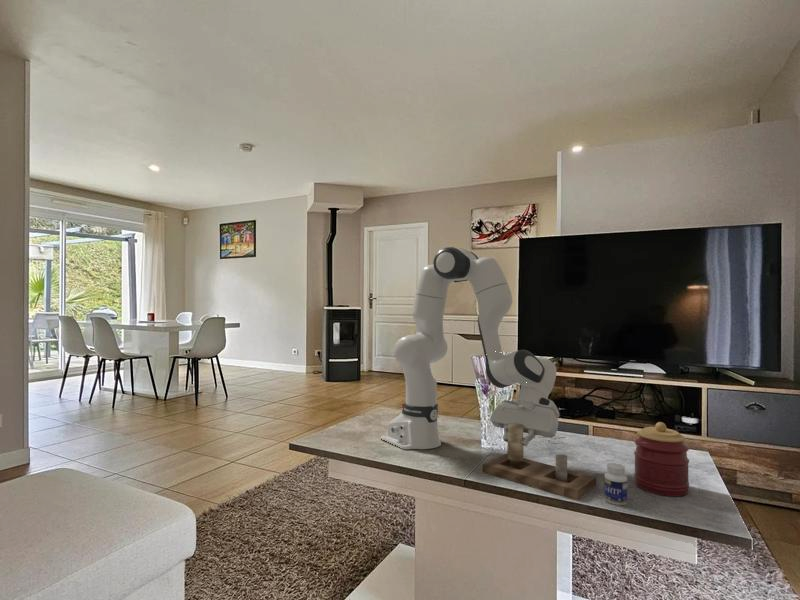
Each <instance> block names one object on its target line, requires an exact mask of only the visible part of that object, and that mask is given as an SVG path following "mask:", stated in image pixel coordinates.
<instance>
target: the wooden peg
mask: <svg viewBox="0 0 800 600" xmlns="http://www.w3.org/2000/svg"><path fill="white" fill-rule="evenodd" d="M523 433H524V432H523V424H518V423H509V424H508V442H507V454H508V459H509V460H511V461H523V458H524V445H522V444H521V440H522V437H524V436H523V435H524V434H523Z"/></svg>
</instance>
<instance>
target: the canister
mask: <svg viewBox="0 0 800 600" xmlns="http://www.w3.org/2000/svg"><path fill="white" fill-rule="evenodd" d="M636 434H637V435H638V437H636V438H634V440H633V442H634V443H635V445H636V446H635V450H634V451H633V454H634V473H633V478H634V483H635V485H636V486H637V487H638V488H640V489H642V490H643V491H646V492H649V493H652V494H655V495H661V496H667V497H683V496H686V495H687V494H688V493H689V489H690V482H689V463H690V459H689V458H688V453H687V452H688V451H690V447H689V445H688V444H686V443H685V441H686V437H685V436H683V435H682V434H681V433H680V432H679V431H677V430H675V429H670V428H668V427H667V425H666V423H664V422H662V421H657V423H656V424H655V426H645V427H643V428H642V429H640V430H638V431H637V433H636Z"/></svg>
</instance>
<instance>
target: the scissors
mask: <svg viewBox="0 0 800 600" xmlns="http://www.w3.org/2000/svg"><path fill="white" fill-rule="evenodd" d="M557 436H558V437H553V438H552V439H550V440H551V441H548V440H549V439H547V441H548V442H547V441H546V442H547V443H549V442H551V443H550V444H557V443H558V442H557V441H556V440H555V439H556V438H559V439H561V437H562V436H560V435H557ZM553 439H554V440H553ZM553 441H555V442H553Z"/></svg>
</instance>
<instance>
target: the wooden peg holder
mask: <svg viewBox="0 0 800 600" xmlns="http://www.w3.org/2000/svg"><path fill="white" fill-rule="evenodd" d="M481 470H482V473H485V474H487V475H491V476H495V477H498V478H501V479H505V480H508V481H511V482H515V483H518V484H521V485H524V486H527V487H531V488H535V489H538V490H541V491H544V492H548V493H551V494H555V495H558V496H562V497H565V498H568V499H571V500H574V501H579V500H580V499H581V498H583V497H584V496H586V495H587V494H588V493H590V492H591V491H592V490H594V489H595V488H596V487H597V476H595V475H592V474H587V473H583V472H580V471H575V470H572V469H569V468H568V456H567V455H566V454H560V453H559V454H555V465H551V464H547V463H544V462H540V461H536V460H532V459H528V458H524V457H523V461H511V460H509V459H508V453H503V454H502V455H498V456H496V457H494V458H492V459H490V460H488V461H485V462H483V463H482V469H481Z"/></svg>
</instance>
